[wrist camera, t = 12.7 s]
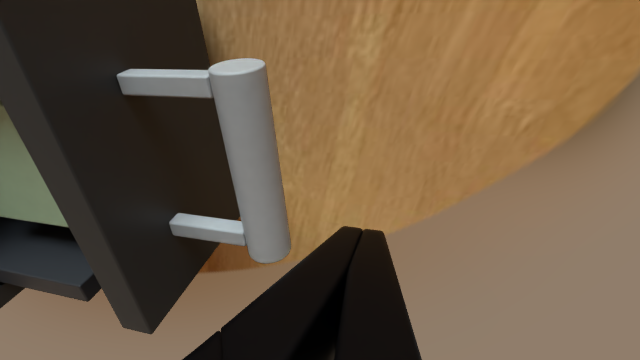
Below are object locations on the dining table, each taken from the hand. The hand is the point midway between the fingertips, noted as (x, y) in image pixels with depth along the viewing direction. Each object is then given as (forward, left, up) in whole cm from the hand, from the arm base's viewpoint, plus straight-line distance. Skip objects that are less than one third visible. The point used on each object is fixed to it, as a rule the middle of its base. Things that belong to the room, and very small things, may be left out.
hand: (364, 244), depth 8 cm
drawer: (+10, +6, -7) cm, 13 cm away
